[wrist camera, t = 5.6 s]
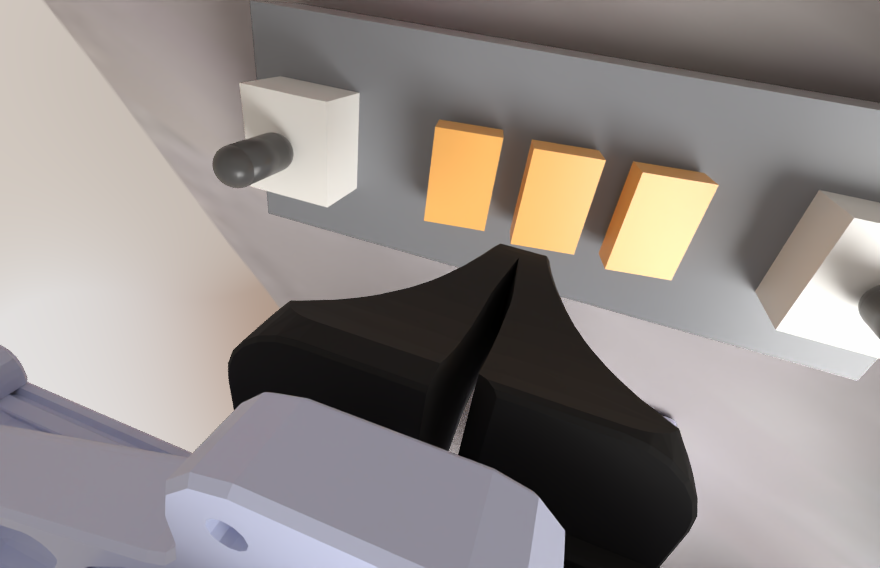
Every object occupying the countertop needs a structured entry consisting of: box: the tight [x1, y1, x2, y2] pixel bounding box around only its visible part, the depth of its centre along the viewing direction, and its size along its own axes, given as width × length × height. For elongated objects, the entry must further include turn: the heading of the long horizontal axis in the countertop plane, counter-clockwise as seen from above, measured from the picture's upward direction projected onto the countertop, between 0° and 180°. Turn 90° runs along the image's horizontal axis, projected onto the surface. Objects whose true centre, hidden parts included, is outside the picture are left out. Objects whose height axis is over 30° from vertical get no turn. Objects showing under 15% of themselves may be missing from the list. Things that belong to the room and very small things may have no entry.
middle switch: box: [510, 139, 606, 255], centre depth 16 cm, size 4×2×1 cm, turn 174°
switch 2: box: [599, 161, 719, 280], centre depth 15 cm, size 4×2×1 cm, turn 174°
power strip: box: [250, 1, 880, 381], centre depth 18 cm, size 9×26×4 cm, turn 83°
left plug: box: [213, 76, 360, 207], centre depth 16 cm, size 4×4×6 cm
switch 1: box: [424, 119, 503, 231], centre depth 17 cm, size 4×2×1 cm, turn 174°
